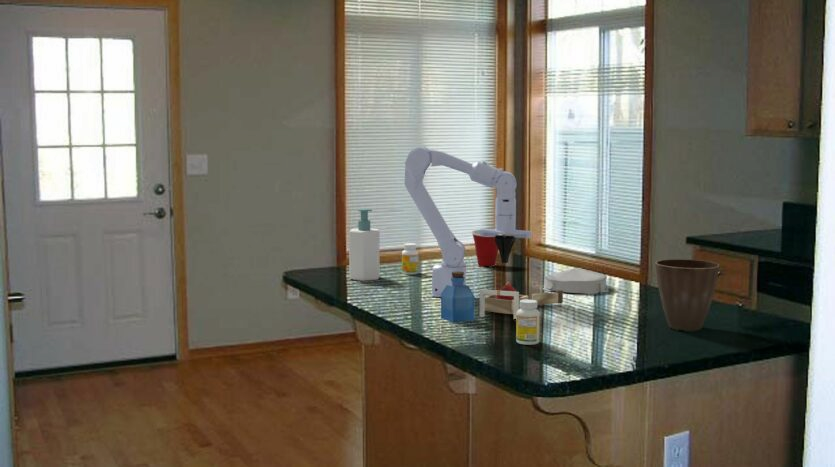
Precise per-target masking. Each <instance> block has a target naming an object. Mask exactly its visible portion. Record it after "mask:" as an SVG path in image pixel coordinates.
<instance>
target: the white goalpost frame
mask: <svg viewBox="0 0 835 467" xmlns="http://www.w3.org/2000/svg"><path fill="white" fill-rule="evenodd" d="M486 295H503V296H514V314H513V320H514V319H516V317H517V311H518V310H519V295H520V292H519V291H517V292H515V291H502V290H500V289H498V290H496V289H485V288H483V289H482V288H481V289H480V290H479V318H484V317H485V316H486V311H485V296H486Z"/></svg>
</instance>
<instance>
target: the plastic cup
mask: <svg viewBox="0 0 835 467" xmlns="http://www.w3.org/2000/svg"><path fill="white" fill-rule="evenodd" d="M471 234H472V236H473V237H472V238H473V241H474V250H475V254H476V260H477V264H478V265H479V267H481V266H493V265H495V266H496V263H497V257H498V252H499V250H498V247H497V245H496V243H495V241H494V239H495V237H493V236H480V229H475V230H472V231H471ZM498 235H504V234H498Z"/></svg>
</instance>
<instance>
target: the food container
mask: <svg viewBox="0 0 835 467" xmlns="http://www.w3.org/2000/svg"><path fill="white" fill-rule="evenodd" d="M607 277H608V276H607V275H606V274H603V273H600V272H596V271H593V270H589V269H584V268H579V267H574V268H569V269H565V270H561V271H559V272H555V273H551V274H547V275H544V284H543V286H542V287H544V288H543V289H542V290H544V291H547V292H556V290H563V293H571V294H587V295H588V294H589V295H595V294H598V293H608V292H609V289H610V286H608V284H606V282H607Z"/></svg>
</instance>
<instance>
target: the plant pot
mask: <svg viewBox="0 0 835 467" xmlns="http://www.w3.org/2000/svg"><path fill="white" fill-rule="evenodd" d="M655 270H656V271H655V272H656V280H657V286H658V292H659V296H660V300H661V301H660V302H661V304H662V310H663V312H664V316H665V319H666V321H667V324H668V328H670V327H671V328H674V329H680V330H689V331H688V332H692V331H691V330H698V329H700V330H701V329H702V327H703V325H704V322H705V321H706V319H707V315H708V313H709V310H710V307H711V304H712V302H713V301H712V300H713V298H714V294H715V291H716V286H717V282H718V276H719V272H720V271H719V270H720V264H719V263H717V262H712V261H708V260H707V261H706V260H699V259H682V258H680V259H679V258H677V259H675V258H674V259H671V258H670V259H661V260H657V261H655ZM671 328H670V329H671ZM698 331H699V330H698Z"/></svg>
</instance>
